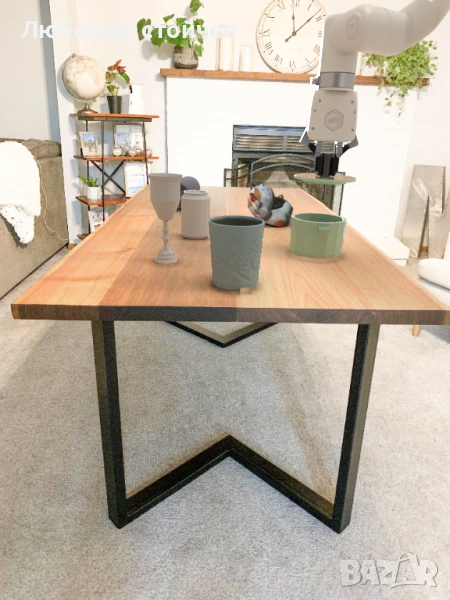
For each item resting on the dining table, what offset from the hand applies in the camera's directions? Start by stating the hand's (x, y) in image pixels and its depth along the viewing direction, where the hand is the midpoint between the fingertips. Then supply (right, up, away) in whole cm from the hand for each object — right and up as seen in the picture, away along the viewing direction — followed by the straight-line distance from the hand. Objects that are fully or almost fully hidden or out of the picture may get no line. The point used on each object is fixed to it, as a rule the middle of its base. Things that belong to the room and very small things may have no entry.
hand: (325, 174), depth 99 cm
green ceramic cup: (-21, -25, -15) cm, 36 cm away
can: (-30, -11, +19) cm, 37 cm away
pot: (-1, -17, +8) cm, 18 cm away
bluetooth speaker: (-37, +6, +63) cm, 73 cm away
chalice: (-35, -20, -3) cm, 40 cm away
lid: (0, -1, 0) cm, 1 cm away
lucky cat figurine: (-8, -4, +39) cm, 40 cm away
